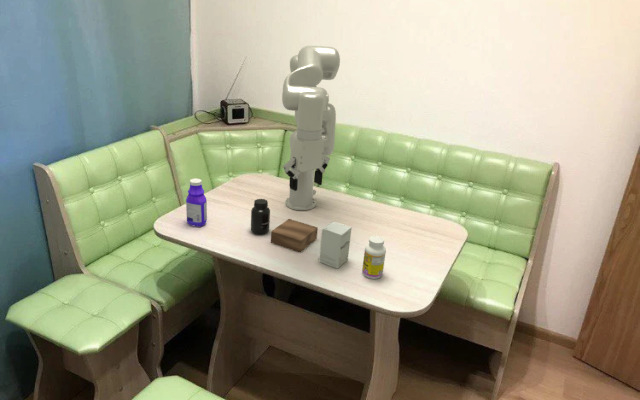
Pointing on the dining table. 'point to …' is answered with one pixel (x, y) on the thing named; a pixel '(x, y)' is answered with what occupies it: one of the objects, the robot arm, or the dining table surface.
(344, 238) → the supplement box
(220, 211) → the dining table surface
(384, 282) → the dining table surface
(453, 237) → the dining table surface
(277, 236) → the walnut block
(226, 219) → the dining table surface
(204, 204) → the bottle
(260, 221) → the supplement bottle
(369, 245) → the supplement bottle
